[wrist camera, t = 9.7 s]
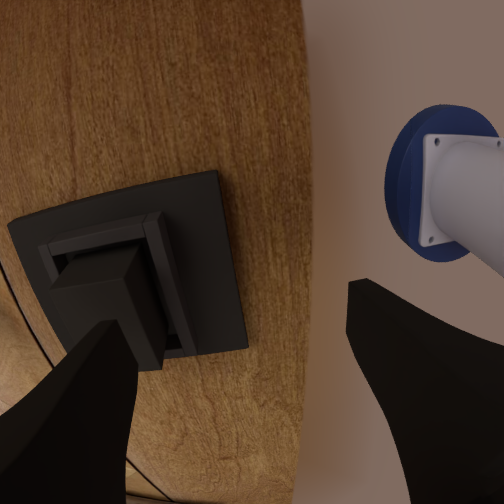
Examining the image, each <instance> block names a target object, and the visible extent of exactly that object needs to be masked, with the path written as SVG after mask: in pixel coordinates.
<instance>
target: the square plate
mask: <svg viewBox="0 0 504 504" xmlns="http://www.w3.org/2000/svg"><path fill="white" fill-rule="evenodd" d="M126 504H182V503H174V502H166V501H159V500H152V499H146V498H141V497H135V496H130V495H126Z"/></svg>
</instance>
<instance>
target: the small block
mask: <svg viewBox="0 0 504 504" xmlns="http://www.w3.org/2000/svg"><path fill="white" fill-rule="evenodd" d="M48 291H49V293H50V295H51V297H52V300H53V302H54V304H55V306H56V308H57V310H58V312H59V314H60V316H61V318H62V320H63V322H64V323H65V325H66V327H67V329H68V331H69V333H70V335H71V336H72V338H73V340H74V342H75V344H77V343H78V342H79V341H80V340H81V339H82V338H83V337H84V336H85V335H86V334H87V333H88V332H89V331H90V330H91V329H92V328H93V327H94V326H95V325H96V324H97V323H98V322H100V321H103V320H112V319H117V321H118V323H119V325H120V327H121V329H122V332H123V334H124V336H125V338H126V340H127V342H128V344H129V346H130V348H131V350H132V352H133V354H134V356H135V358H136V360H137V362H138V364H139V368H138V372H141V371H154V370H162V366H163V359H164V353H165V346H166V340H167V334H168V328H169V324H168V321H167V318H166V316H165V313H164V310H163V307H162V304H161V301H160V298H159V295H158V292H157V289H156V286H155V283H154V280H153V277H152V274H151V271H150V268H149V264H148V261H147V258H146V255H145V251H144V248H143V245H142V242H139V243H133V244H128V245H123V246H118V247H112V248H107V249H102V250H97V251H92V252H87V253H82V254H77V255H75V256H74V258H73V259H72V260H71V261H70V263H69V264H68V265H67V266H66V268H65V269H64V270H63V271H62V273H61V274H60V275H59V277H58V278H57V279H56V280H55V282H54V283H53V284H52V286H51V287H50V288H49V290H48Z"/></svg>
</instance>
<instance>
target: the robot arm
mask: <svg viewBox="0 0 504 504" xmlns="http://www.w3.org/2000/svg"><path fill="white" fill-rule="evenodd" d="M435 139H436V140H437V142H436V144H435V143H434V141H435ZM497 143H498V144H497ZM430 237H431V239H430V240H429V238H430ZM451 241H456V242H458V243H459V244H461V245H462V246H463V247H465V248H466V249H467V250H469V251H470V252H471V253H473V254H474V255H476V256H477V257H478V258H479V259H481V260H482V261H483V262H485V263H486V264H487V265H489V266H490V267H491V268H492V269H493V270H495V271H496V272H497V273H498V274H500V275H501V276H502V277H503V278H504V138H500V137H488V136H474V135H454V134H426V135H425V136H424V138H423V181H422V202H421V216H420V228H419V238H418V242H419V244H420V245H421V246H423V247H427V246H432V245H437V244H441V243H446V242H451ZM346 334H347V337H348V340H349V343H350V345H351V348H352V350H353V353H354V356H355V358H356V360H357V362H358V364H359V366H360V368H361V370H362V372H363V374H364V376H365V378H366V380H367V381H368V384H369V385H370V387H371V389H372V391H373V393H374V395H375V397H376V399H377V401H378V403H379V405H380V407H381V408H382V410H383V413H384V415H385V417H386V419H387V421H388V424H389V427H390V430H391V433H392V436H393V438H394V441H395V444H396V447H397V450H398V454H399V457H400V460H401V464H402V467H403V471H404V475H405V478H406V482H407V486H408V491H409V495H410V501H411V504H504V346H503V345H500V344H497V343H494V342H490V341H488V340H485V339H482V338H479V337H477V336H475V335H472V334H470V333H467V332H465V331H462V330H460V329H458V328H456V327H454V326H452V325H450V324H448V323H445V322H444V321H442V320H440V319H438V318H436V317H434V316H432V315H430V314H428V313H426V312H425V311H423V310H421V309H419V308H418V307H416V306H414V305H412V304H411V303H409V302H407V301H406V300H404V299H402V298H400V297H399V296H397V295H395V294H394V293H392V292H390V291H389V290H387V289H385V288H384V287H382V286H380V285H379V284H377V283H375V282H373V281H371V280H369V279H367V278H365V279H360V280H355V281H350V282H349V284H348V305H347V322H346ZM138 368H139V364H138V362H137V360H136V358H135V356H134V354H133V352H132V350H131V348H130V346H129V344H128V342H127V340H126V338H125V336H124V334H123V332H122V329H121V327H120V325H119V323H118V321H117V319H112V320H103V321H100V322H98V323H97V324H96V325H95V326H94V327H93V328H92V329H91V330H90V331H89V332H88V333H87V334H86V335H85V336H84V337H83V338H82V339H81V340H80V341H79V342H78V343H77V344H76V345H75V346H74V347H73V349H72V350H71V351H70V352H69V353H68V354H67V355H66V356H65V357H64V358H63V359H62V360H61V361H60V362H59V363H58V364H57V365H56V366H55V368H54V369H53V370H52V371H51V372H50V373H49V374H48V375H47V376H46V377H45V378H44V379H43V380H42V381H41V382H40V383H39V384H38V385H37V386H36V387H35V388H34V389H32V390H31V391H30V392H29V393H28V394H27V395H26V396H25V397H23V398H22V399H21V400H20V401H19V402H18V403H17V404H15V405H14V406H13V407H12V408H10V409H9V410H8V411H6V412H5V413H3V414H2V415H1V416H0V504H126V486H125V474H126V453H127V445H128V439H129V433H130V428H131V422H132V417H133V411H134V406H135V400H136V395H137V385H138Z"/></svg>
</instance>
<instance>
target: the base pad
mask: <svg viewBox="0 0 504 504" xmlns="http://www.w3.org/2000/svg"><path fill="white" fill-rule="evenodd" d="M7 227H8V230H9V233H10V235H11V238H12V241H13V244H14V246H15V249H16V251H17V254H18V256H19V259H20V261H21V264H22V266H23V269H24V271H25V273H26V275H27V278H28V280H29V282H30V284H31V287H32V289H33V291H34V293H35V295H36V297H37V299H38V301H39V303H40V305H41V307H42V309H43V311H44V313H45V315H46V317H47V319H48V321H49V323H50V324H51V326H52V328H53V330H54V332H55V334H56V335H57V337H58V339H59V341H60V342H61V344H62V346H63V347H64V349H65V351H66V352H67V354H68V353H69V352H70V351H71V350H72V349H73V347H74V346H75V345H76V344H75V342H74V340H73V338H72V336H71V335H70V333H69V331H68V329H67V327H66V325H65V323H64V322H63V320H62V318H61V316H60V314H59V312H58V310H57V308H56V306H55V304H54V302H53V300H52V297H51V295H50V293H49V291H48V290H49V288H50V287H51V286H52V284H53V283H54V282H55V280H56V279H57V278H58V277H59V275H60V274H61V273H62V271H63V270H64V269H65V268H66V266H67V265H68V264H69V263H70V261H71V260H72V259H73V258H74V256H75V255H77V254H82V253H87V252H92V251H97V250H102V249H107V248H112V247H118V246H123V245H128V244H133V243H139V242H142V245H143V248H144V251H145V255H146V258H147V261H148V264H149V268H150V271H151V274H152V277H153V280H154V283H155V286H156V289H157V292H158V295H159V298H160V301H161V304H162V307H163V310H164V313H165V316H166V318H167V321H168V324H169V328H168V334H167V340H166V346H165V353H164V359H170V358H179V357H189V356H197V355H204V354H212V353H219V352H226V351H233V350H240V349H246V348H249V345H248V338H247V333H246V328H245V323H244V317H243V312H242V307H241V301H240V296H239V291H238V285H237V280H236V274H235V269H234V263H233V258H232V252H231V247H230V241H229V235H228V230H227V224H226V218H225V212H224V206H223V201H222V195H221V189H220V183H219V177H218V171H217V170H211V171H205V172H199V173H194V174H189V175H183V176H178V177H173V178H168V179H163V180H159V181H154V182H149V183H145V184H140V185H136V186H131V187H127V188H123V189H119V190H114V191H110V192H106V193H102V194H99V195H95V196H91V197H87V198H83V199H80V200H76V201H72V202H69V203H65V204H62V205H58V206H55V207H52V208H48V209H45V210H42V211H38V212H35V213H32V214H29V215H26V216H23V217H20V218H17V219H14V220H13V221H11V222H10V223H8V224H7Z"/></svg>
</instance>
